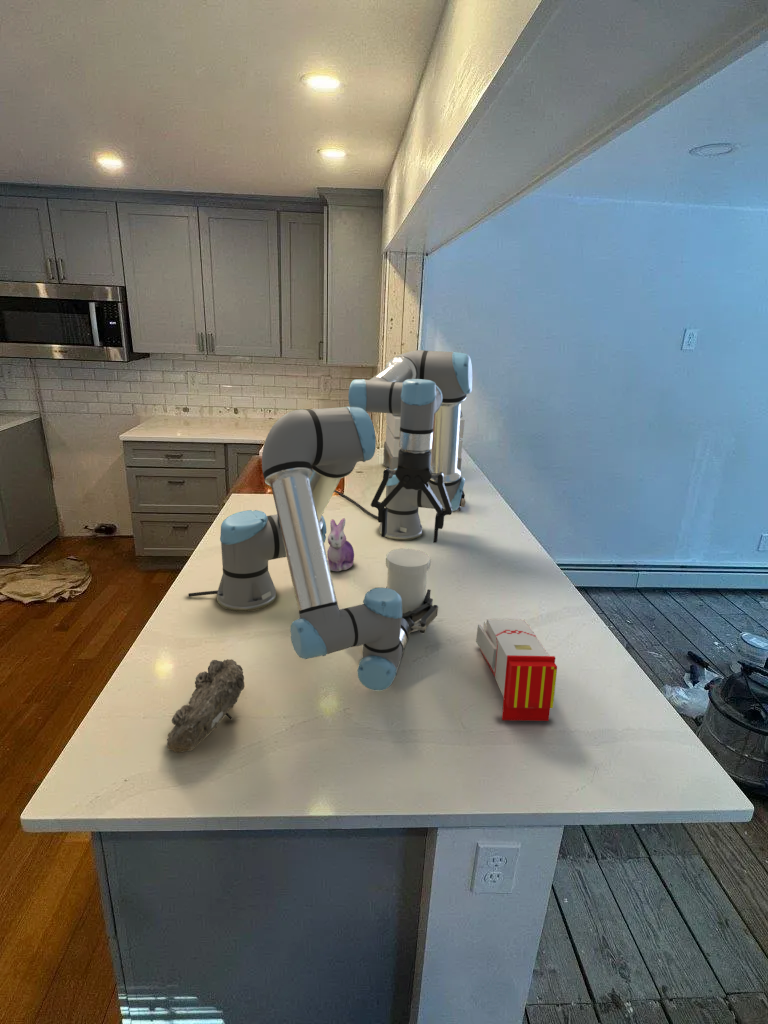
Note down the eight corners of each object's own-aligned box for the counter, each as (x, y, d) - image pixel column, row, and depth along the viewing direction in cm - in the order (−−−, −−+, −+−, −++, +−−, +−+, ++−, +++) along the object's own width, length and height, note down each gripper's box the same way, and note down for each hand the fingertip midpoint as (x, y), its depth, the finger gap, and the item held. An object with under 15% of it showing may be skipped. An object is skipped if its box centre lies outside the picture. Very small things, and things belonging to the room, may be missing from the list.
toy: (523, 604, 135) (566, 662, 106) (518, 656, 138) (559, 727, 109) (472, 603, 135) (501, 661, 105) (468, 655, 138) (496, 726, 108)
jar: (403, 636, 137) (407, 570, 131) (377, 620, 144) (380, 556, 138) (431, 624, 143) (436, 560, 137) (405, 609, 150) (409, 547, 144)
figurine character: (465, 515, 224) (460, 499, 237) (467, 498, 221) (462, 483, 234) (448, 515, 224) (444, 499, 237) (450, 498, 220) (445, 482, 234)
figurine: (332, 575, 167) (332, 527, 162) (319, 561, 175) (319, 516, 170) (361, 569, 171) (362, 523, 166) (347, 556, 179) (348, 512, 174)
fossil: (192, 660, 117) (244, 628, 112) (224, 691, 120) (276, 661, 115) (142, 746, 98) (202, 712, 93) (182, 779, 101) (242, 748, 96)
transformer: (382, 463, 289) (386, 382, 275) (445, 464, 293) (451, 384, 279) (390, 482, 257) (394, 392, 243) (460, 483, 261) (468, 394, 247)
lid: (406, 579, 131) (407, 570, 130) (376, 563, 139) (376, 554, 138) (439, 567, 138) (440, 559, 137) (408, 552, 146) (409, 544, 145)
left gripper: (341, 643, 128) (366, 598, 149) (439, 659, 124) (450, 610, 145) (342, 614, 126) (367, 572, 146) (442, 630, 122) (453, 584, 142)
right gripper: (469, 450, 130) (460, 537, 138) (366, 441, 134) (363, 527, 141) (467, 458, 123) (459, 549, 131) (359, 448, 127) (357, 538, 134)
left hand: (408, 591), depth 146 cm, fingers closed on jar, 10 cm apart
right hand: (409, 537), depth 136 cm, fingers open, 12 cm apart
